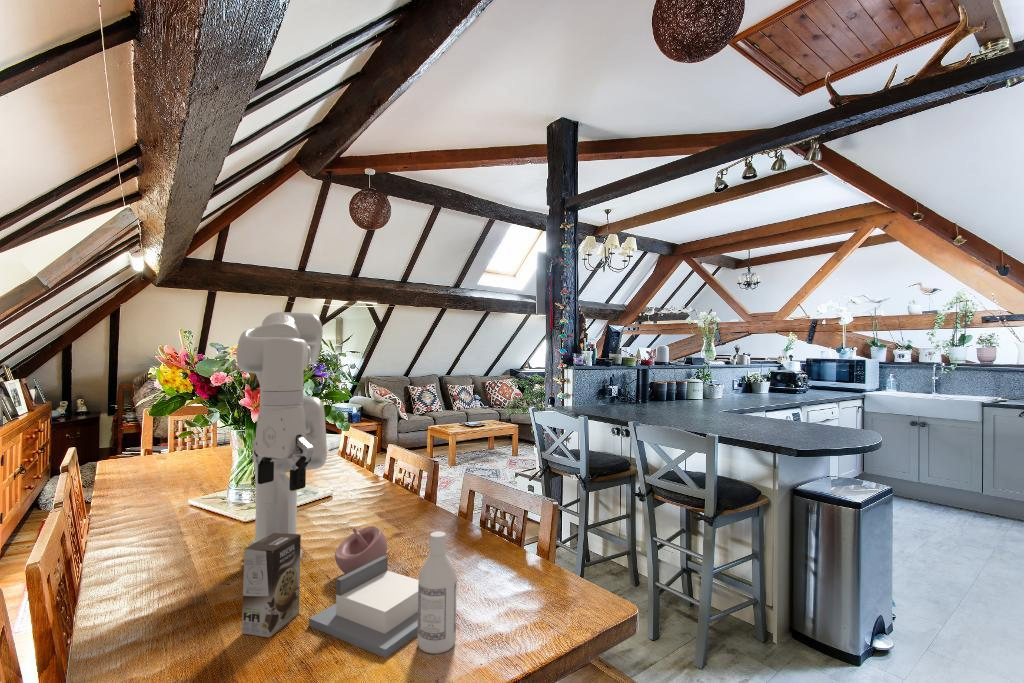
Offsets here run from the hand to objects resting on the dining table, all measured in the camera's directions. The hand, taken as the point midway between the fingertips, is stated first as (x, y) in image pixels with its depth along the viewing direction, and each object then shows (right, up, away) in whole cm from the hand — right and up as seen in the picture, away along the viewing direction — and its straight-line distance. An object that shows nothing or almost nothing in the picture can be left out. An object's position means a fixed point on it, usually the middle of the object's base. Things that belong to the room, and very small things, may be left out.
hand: (281, 485), depth 99 cm
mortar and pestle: (+10, -27, +20) cm, 35 cm away
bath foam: (+32, -27, -8) cm, 43 cm away
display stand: (+20, -27, +2) cm, 33 cm away
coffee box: (-1, -27, -1) cm, 27 cm away
